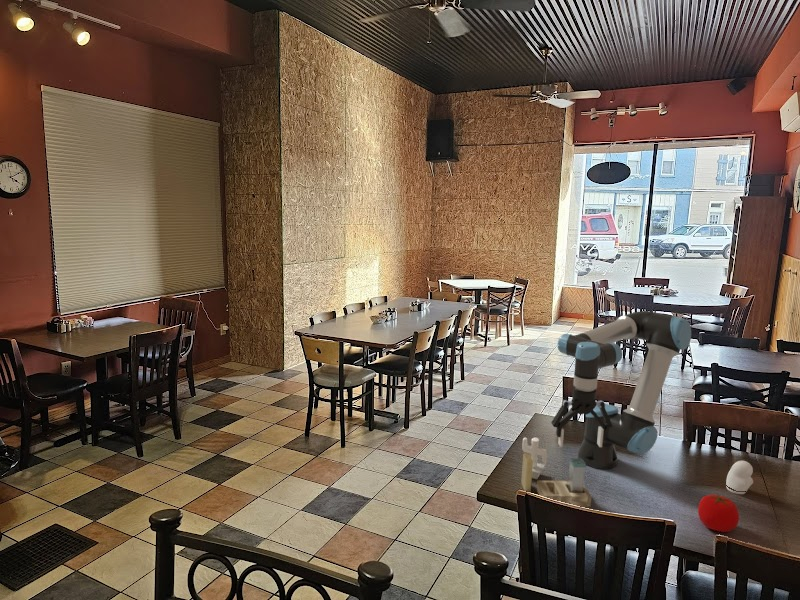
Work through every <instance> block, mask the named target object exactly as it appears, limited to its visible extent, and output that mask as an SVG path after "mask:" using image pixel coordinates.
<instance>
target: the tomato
mask: <svg viewBox="0 0 800 600" xmlns="http://www.w3.org/2000/svg"><path fill="white" fill-rule="evenodd" d="M697 513H698V517H699V520H700V521H701V523H702V524H703V525H704V526H705V527H706V528H708V529H711V530H713V531H716V530H717V531H716V532H719V533H726V532H727V533H728V532H731V531H733V530H734V529H735V528H736V527H737V525H738V524H739V521H740V513H739V510H738V507H737V506H736V504H735V502H734V501H733V500H731V499H730V498H728V497H725V496H722V495H719V494H708V495H704V496H703V497H702V498H701V500H699V504H698V507H697ZM720 531H721V532H720Z"/></svg>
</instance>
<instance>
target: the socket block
mask: <svg viewBox="0 0 800 600" xmlns="http://www.w3.org/2000/svg"><path fill="white" fill-rule="evenodd" d="M536 481H537V483H536V493H537V494H538V496H539V495H542V496H544V497H547V498H550V499H553V500H557V501H561V502H565V503H569V504H573V505H577V506H581V507H580V508H591V505H592V495H591V493H590V492H589V491H588V489H587V487H586V486H585V484H584V485H583V493H570V492H569V490H568V480H538V479H537V480H536Z"/></svg>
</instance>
